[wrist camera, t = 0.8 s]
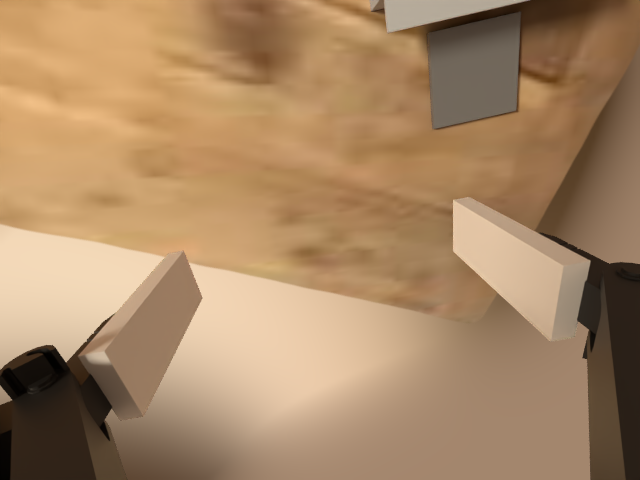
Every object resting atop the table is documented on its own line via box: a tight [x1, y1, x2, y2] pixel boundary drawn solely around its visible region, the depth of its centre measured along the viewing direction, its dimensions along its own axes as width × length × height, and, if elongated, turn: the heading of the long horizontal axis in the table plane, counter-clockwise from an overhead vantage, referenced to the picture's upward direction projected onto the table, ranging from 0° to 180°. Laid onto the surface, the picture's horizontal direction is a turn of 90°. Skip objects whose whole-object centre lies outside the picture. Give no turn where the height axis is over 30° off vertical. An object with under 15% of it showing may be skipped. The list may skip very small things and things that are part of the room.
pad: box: [427, 12, 521, 129], centre depth 35 cm, size 10×10×1 cm
